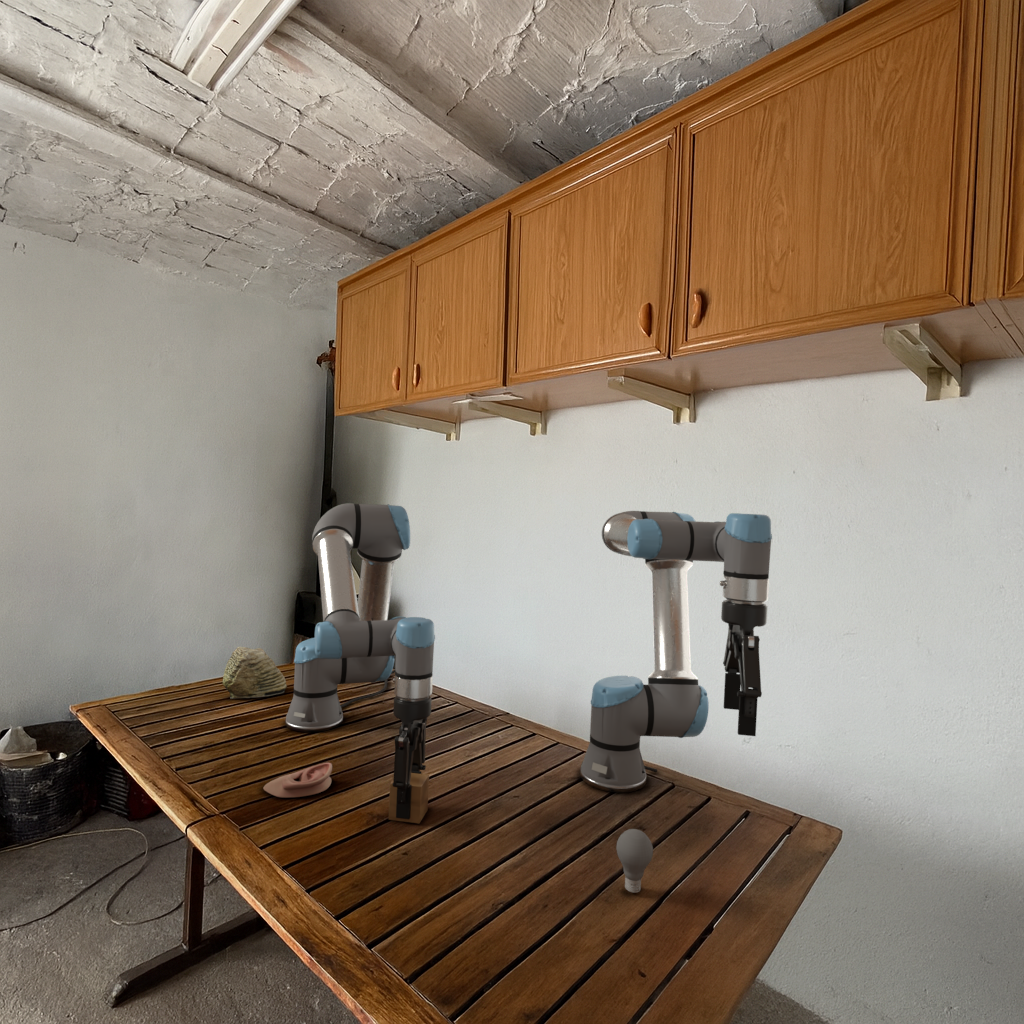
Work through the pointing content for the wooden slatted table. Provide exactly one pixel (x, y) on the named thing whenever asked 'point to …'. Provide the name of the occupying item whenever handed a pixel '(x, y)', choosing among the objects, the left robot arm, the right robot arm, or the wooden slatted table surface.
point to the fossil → (252, 674)
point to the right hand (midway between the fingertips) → (738, 721)
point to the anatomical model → (301, 782)
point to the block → (412, 798)
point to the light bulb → (634, 857)
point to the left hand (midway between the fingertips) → (408, 809)
